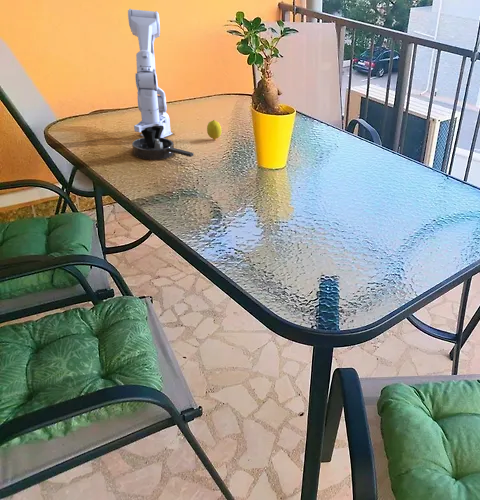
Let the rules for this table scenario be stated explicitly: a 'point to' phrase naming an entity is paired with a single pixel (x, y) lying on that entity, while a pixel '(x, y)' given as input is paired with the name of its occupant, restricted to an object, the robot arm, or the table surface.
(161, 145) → the lighter
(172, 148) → the pan handle
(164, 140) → the pan
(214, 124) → the lemon
